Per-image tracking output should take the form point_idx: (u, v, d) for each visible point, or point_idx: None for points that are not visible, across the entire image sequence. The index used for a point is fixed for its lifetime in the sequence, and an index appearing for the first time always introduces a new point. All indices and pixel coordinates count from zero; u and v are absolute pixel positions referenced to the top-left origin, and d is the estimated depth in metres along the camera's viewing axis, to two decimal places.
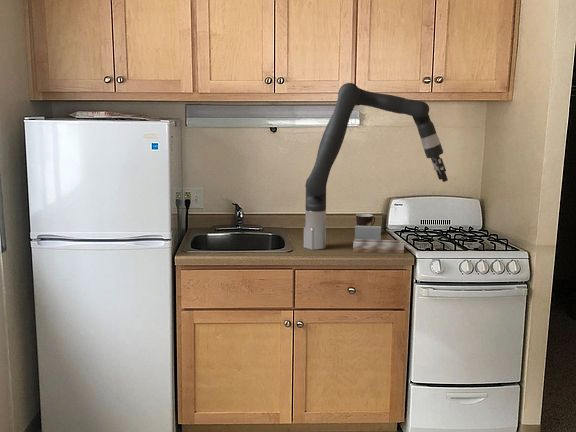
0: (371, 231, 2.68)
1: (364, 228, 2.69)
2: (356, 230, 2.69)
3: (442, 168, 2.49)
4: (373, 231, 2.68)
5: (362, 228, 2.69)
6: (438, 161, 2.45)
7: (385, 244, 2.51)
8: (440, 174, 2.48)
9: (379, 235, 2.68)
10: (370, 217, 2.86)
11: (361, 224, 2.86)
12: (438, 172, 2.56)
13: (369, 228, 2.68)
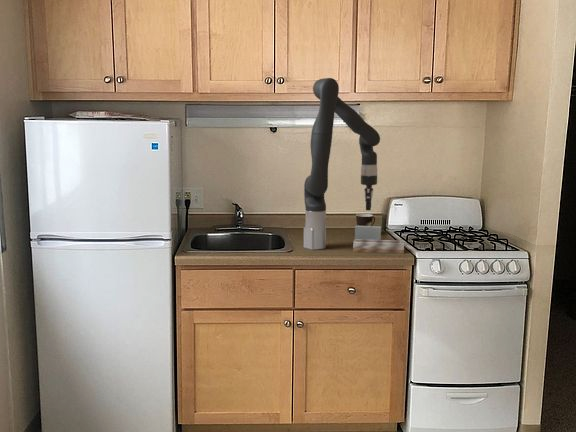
0: (371, 231, 2.68)
1: (364, 228, 2.69)
2: (356, 230, 2.69)
3: (369, 198, 2.64)
4: (373, 231, 2.68)
5: (362, 228, 2.69)
6: (367, 190, 2.60)
7: (385, 244, 2.51)
8: None
9: (379, 235, 2.68)
10: (370, 217, 2.86)
11: (361, 224, 2.86)
12: None
13: (369, 228, 2.68)
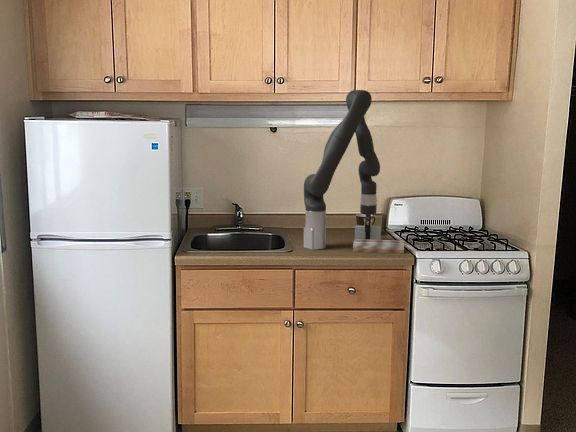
0: (371, 231, 2.68)
1: (364, 228, 2.69)
2: (356, 230, 2.69)
3: (369, 227, 2.68)
4: (373, 231, 2.68)
5: (362, 228, 2.69)
6: (366, 223, 2.63)
7: (385, 244, 2.51)
8: (365, 233, 2.68)
9: (379, 235, 2.68)
10: None
11: (361, 224, 2.86)
12: None
13: None
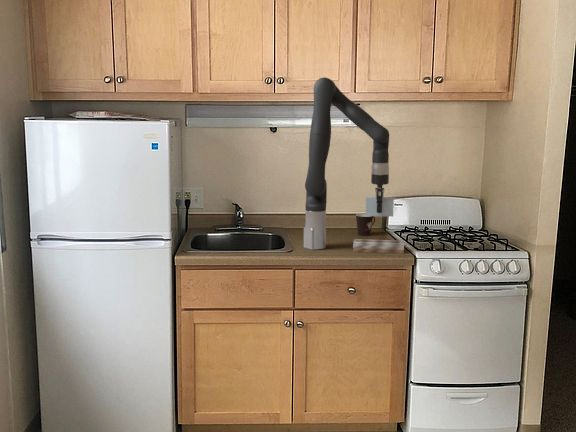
0: (383, 203, 2.51)
1: (376, 199, 2.51)
2: (367, 201, 2.52)
3: (381, 199, 2.51)
4: (385, 202, 2.51)
5: (373, 199, 2.51)
6: (378, 194, 2.46)
7: (385, 244, 2.51)
8: None
9: (392, 206, 2.51)
10: (370, 217, 2.86)
11: (361, 224, 2.86)
12: None
13: None
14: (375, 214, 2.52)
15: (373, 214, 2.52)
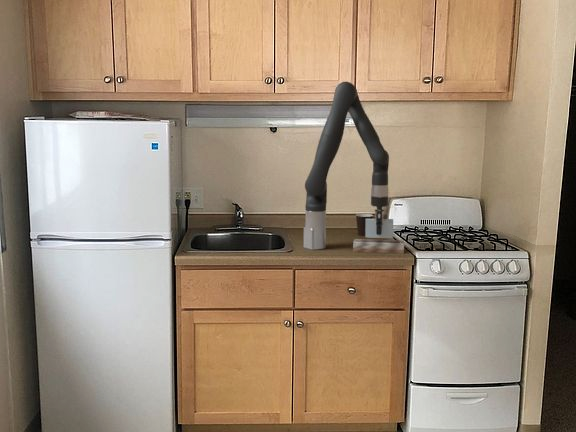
0: (382, 224, 2.52)
1: (375, 221, 2.52)
2: (367, 223, 2.53)
3: None
4: (384, 224, 2.52)
5: (373, 221, 2.53)
6: (377, 216, 2.47)
7: (385, 244, 2.51)
8: None
9: (391, 228, 2.52)
10: (370, 217, 2.86)
11: (361, 224, 2.86)
12: None
13: None
14: (375, 236, 2.53)
15: (373, 236, 2.54)
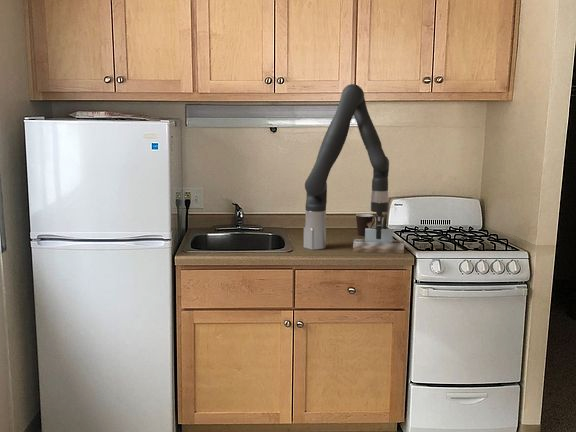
0: (382, 234, 2.53)
1: (375, 231, 2.53)
2: (366, 233, 2.54)
3: (380, 226, 2.50)
4: (384, 234, 2.53)
5: (373, 231, 2.53)
6: (377, 218, 2.47)
7: (385, 244, 2.51)
8: (376, 231, 2.50)
9: (391, 238, 2.52)
10: (370, 217, 2.86)
11: (361, 224, 2.86)
12: None
13: None
14: None
15: None
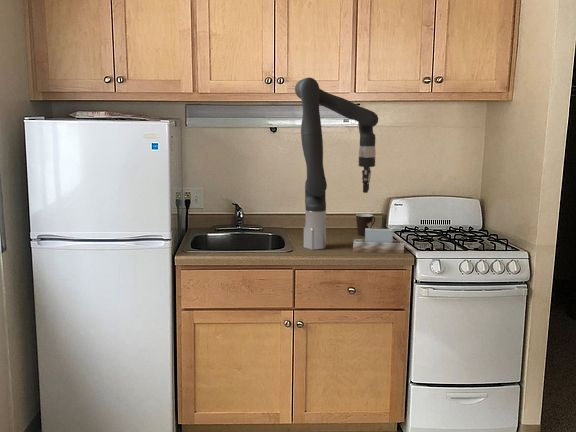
0: (382, 234, 2.53)
1: (375, 231, 2.53)
2: (366, 233, 2.54)
3: (367, 180, 2.59)
4: (384, 234, 2.53)
5: (373, 231, 2.53)
6: (364, 171, 2.55)
7: (385, 244, 2.51)
8: (363, 184, 2.59)
9: (391, 238, 2.52)
10: (370, 217, 2.86)
11: (361, 224, 2.86)
12: None
13: (380, 231, 2.53)
14: None
15: None
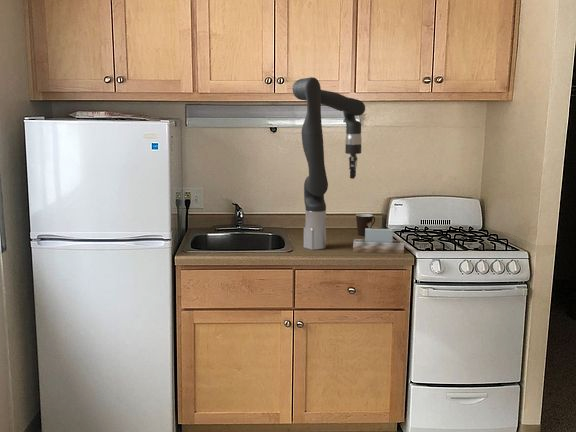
0: (382, 234, 2.53)
1: (375, 231, 2.53)
2: (366, 233, 2.54)
3: (354, 166, 2.70)
4: (384, 234, 2.53)
5: (373, 231, 2.53)
6: (351, 158, 2.67)
7: (385, 244, 2.51)
8: None
9: (391, 238, 2.52)
10: (370, 217, 2.86)
11: (361, 224, 2.86)
12: None
13: (380, 231, 2.53)
14: None
15: None
